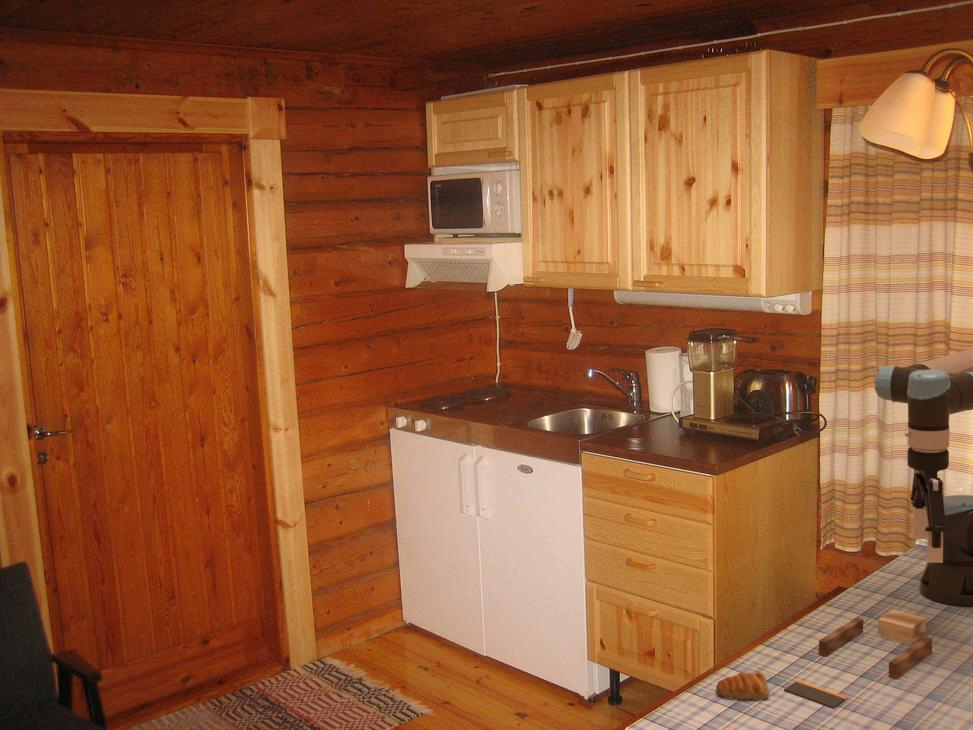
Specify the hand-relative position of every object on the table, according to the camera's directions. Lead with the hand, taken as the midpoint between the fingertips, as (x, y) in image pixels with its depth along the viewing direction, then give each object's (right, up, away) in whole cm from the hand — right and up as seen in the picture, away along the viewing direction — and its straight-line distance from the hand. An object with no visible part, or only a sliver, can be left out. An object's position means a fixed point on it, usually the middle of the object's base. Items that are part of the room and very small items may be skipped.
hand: (927, 550), depth 196 cm
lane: (-10, -21, 0) cm, 24 cm away
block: (-2, -20, +8) cm, 22 cm away
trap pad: (-28, -24, -16) cm, 40 cm away
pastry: (-41, -25, -14) cm, 50 cm away
